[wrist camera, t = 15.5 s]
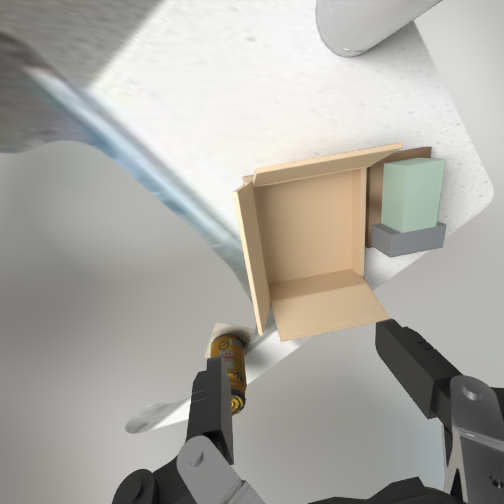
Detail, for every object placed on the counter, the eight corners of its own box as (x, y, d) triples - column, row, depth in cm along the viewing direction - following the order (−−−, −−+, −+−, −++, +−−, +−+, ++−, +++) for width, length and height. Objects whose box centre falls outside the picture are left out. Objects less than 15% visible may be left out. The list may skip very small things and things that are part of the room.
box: (373, 165, 36) (396, 167, 31) (427, 155, 36) (456, 156, 32) (371, 245, 41) (390, 257, 36) (418, 236, 41) (442, 247, 37)
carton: (226, 165, 35) (228, 173, 24) (354, 143, 36) (410, 141, 25) (251, 298, 44) (261, 347, 33) (353, 278, 45) (395, 319, 34)
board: (365, 157, 37) (370, 157, 35) (423, 146, 37) (431, 146, 36) (363, 244, 42) (368, 247, 41) (414, 234, 43) (420, 237, 41)
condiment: (204, 356, 48) (199, 418, 37) (215, 321, 45) (213, 377, 34) (240, 362, 50) (246, 423, 38) (253, 328, 47) (263, 384, 36)
